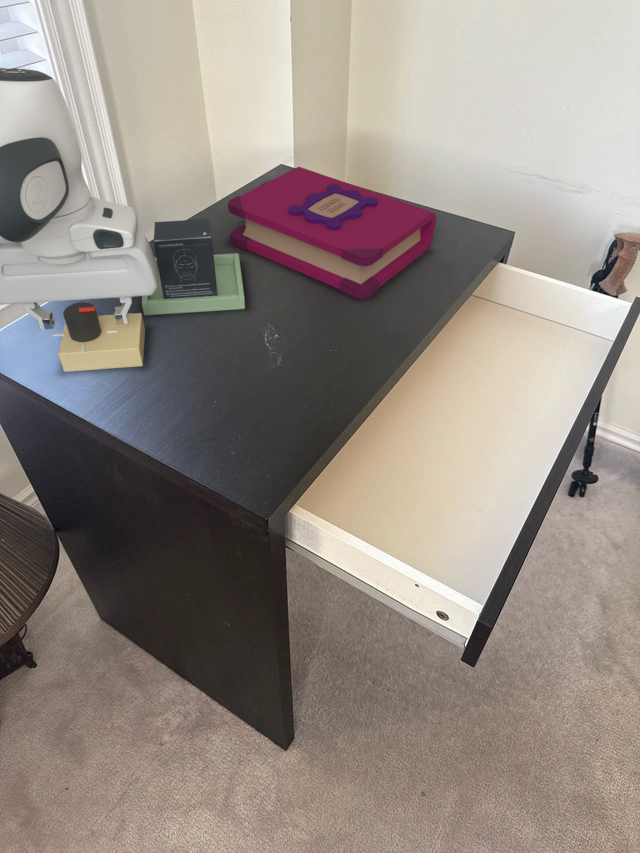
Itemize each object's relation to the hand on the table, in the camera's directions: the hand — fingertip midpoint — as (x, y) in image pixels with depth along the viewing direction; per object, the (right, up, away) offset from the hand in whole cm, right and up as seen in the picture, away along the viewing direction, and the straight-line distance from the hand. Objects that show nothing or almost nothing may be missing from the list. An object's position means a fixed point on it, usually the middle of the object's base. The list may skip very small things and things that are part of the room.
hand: (86, 324), depth 82 cm
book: (+32, +17, +26) cm, 45 cm away
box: (+11, +6, +13) cm, 18 cm away
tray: (+11, +8, +15) cm, 20 cm away
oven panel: (+1, -3, +3) cm, 5 cm away
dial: (0, -1, +1) cm, 1 cm away
